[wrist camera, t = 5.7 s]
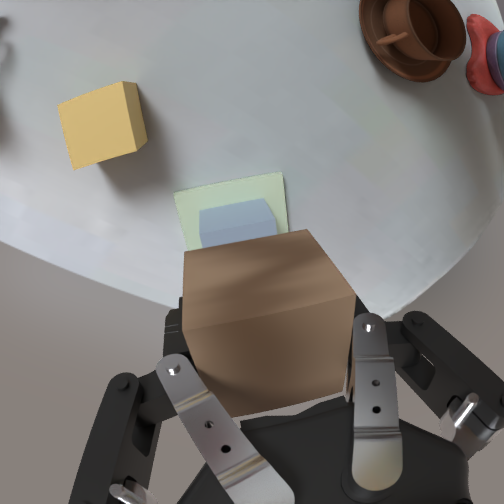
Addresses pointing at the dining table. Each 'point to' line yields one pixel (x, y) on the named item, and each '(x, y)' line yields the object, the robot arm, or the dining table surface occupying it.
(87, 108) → the ochre brick
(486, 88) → the stacking bear
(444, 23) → the cup and saucer
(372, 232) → the dining table surface
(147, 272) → the dining table surface
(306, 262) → the walnut brick
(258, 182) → the tower base
